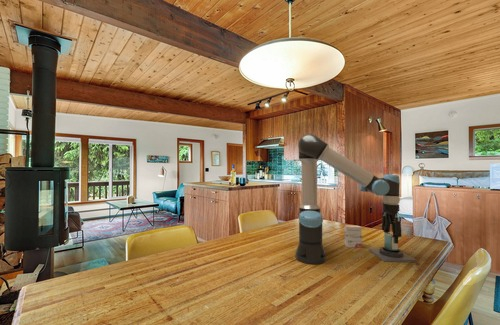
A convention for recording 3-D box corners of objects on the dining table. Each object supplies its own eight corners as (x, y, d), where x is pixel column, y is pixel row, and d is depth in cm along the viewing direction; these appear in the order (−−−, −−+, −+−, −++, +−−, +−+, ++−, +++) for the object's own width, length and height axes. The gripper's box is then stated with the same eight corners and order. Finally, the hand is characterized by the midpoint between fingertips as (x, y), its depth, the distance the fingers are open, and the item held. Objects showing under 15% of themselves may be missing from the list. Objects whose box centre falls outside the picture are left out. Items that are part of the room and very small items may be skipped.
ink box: (358, 245, 147) (358, 225, 147) (361, 247, 142) (361, 227, 142) (344, 244, 148) (344, 224, 148) (346, 247, 143) (346, 226, 143)
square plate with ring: (384, 261, 122) (384, 255, 122) (368, 250, 138) (368, 245, 138) (416, 261, 122) (416, 255, 122) (396, 250, 138) (396, 245, 138)
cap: (388, 250, 127) (388, 236, 127) (382, 246, 133) (381, 233, 133) (401, 250, 127) (400, 236, 127) (393, 246, 133) (393, 233, 133)
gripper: (410, 206, 120) (410, 253, 120) (387, 200, 140) (387, 241, 140) (395, 206, 120) (394, 253, 120) (374, 200, 140) (374, 241, 140)
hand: (391, 246), depth 130 cm, fingers closed on cap, 6 cm apart
